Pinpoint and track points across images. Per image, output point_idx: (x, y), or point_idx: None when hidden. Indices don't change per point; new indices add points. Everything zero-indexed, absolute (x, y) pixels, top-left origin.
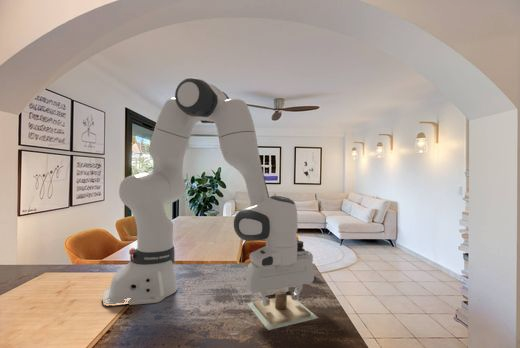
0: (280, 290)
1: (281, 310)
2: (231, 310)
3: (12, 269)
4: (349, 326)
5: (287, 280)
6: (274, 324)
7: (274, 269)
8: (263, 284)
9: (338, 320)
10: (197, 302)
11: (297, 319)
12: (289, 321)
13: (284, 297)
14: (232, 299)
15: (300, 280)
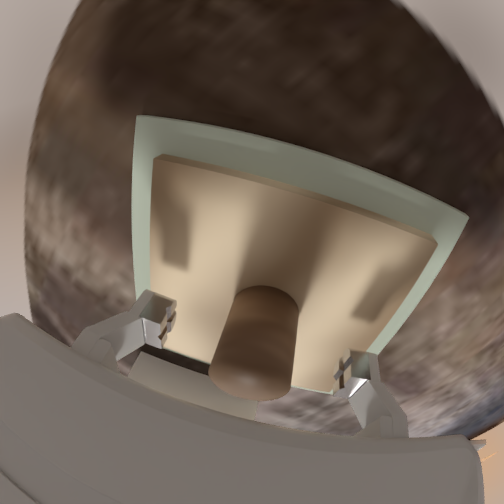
0: (168, 376)
1: (287, 291)
2: (405, 388)
3: None
4: (77, 9)
5: (190, 466)
6: (415, 228)
7: None
8: (421, 484)
9: (75, 66)
10: (413, 430)
11: (259, 175)
12: (320, 192)
13: (253, 348)
14: (343, 418)
15: (65, 386)
